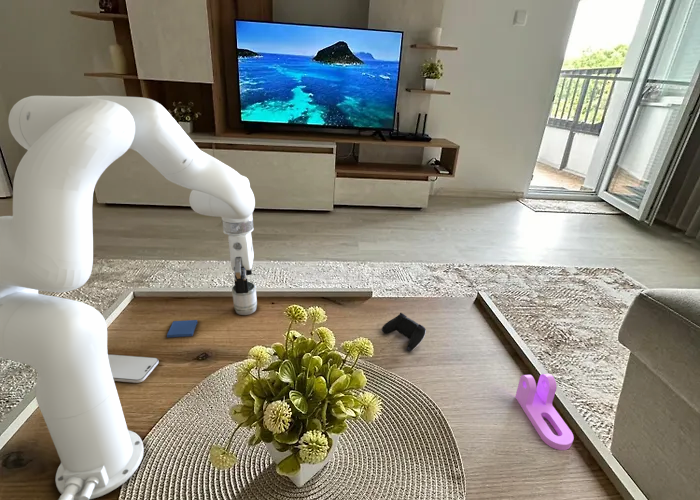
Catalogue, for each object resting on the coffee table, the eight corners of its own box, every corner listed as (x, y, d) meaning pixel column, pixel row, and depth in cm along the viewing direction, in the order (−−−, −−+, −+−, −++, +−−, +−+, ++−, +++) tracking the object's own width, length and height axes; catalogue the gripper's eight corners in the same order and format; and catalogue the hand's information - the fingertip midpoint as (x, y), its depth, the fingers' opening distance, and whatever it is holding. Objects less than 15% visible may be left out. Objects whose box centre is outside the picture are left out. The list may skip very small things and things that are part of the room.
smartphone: (98, 353, 91) (160, 357, 90) (100, 357, 92) (161, 361, 90) (75, 375, 85) (141, 380, 83) (76, 379, 85) (142, 384, 83)
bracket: (515, 397, 83) (521, 371, 80) (540, 395, 84) (547, 369, 81) (549, 451, 71) (558, 422, 69) (578, 449, 72) (588, 421, 69)
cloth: (192, 336, 99) (192, 333, 99) (167, 337, 98) (166, 335, 98) (197, 322, 105) (197, 319, 104) (173, 323, 104) (173, 321, 103)
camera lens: (234, 305, 113) (231, 280, 109) (256, 302, 114) (254, 278, 111) (234, 317, 107) (231, 292, 104) (258, 314, 109) (256, 289, 105)
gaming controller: (417, 356, 98) (432, 333, 98) (409, 351, 94) (425, 326, 95) (386, 335, 105) (401, 313, 106) (378, 329, 102) (394, 307, 103)
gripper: (250, 237, 93) (255, 299, 100) (255, 212, 109) (260, 268, 116) (217, 238, 92) (225, 301, 99) (227, 213, 108) (234, 269, 115)
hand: (244, 283), depth 108 cm, fingers open, 9 cm apart
